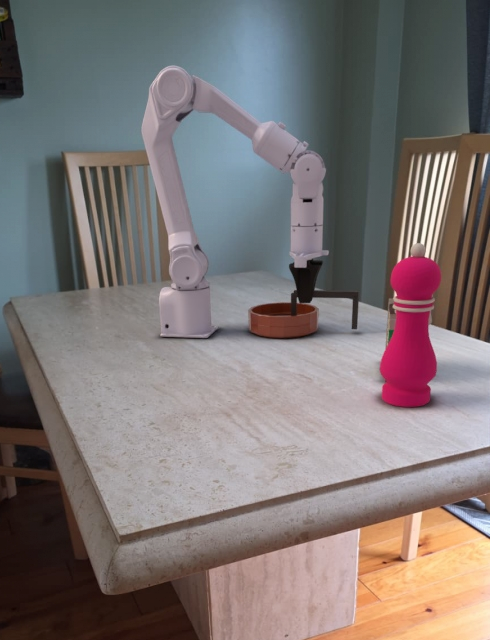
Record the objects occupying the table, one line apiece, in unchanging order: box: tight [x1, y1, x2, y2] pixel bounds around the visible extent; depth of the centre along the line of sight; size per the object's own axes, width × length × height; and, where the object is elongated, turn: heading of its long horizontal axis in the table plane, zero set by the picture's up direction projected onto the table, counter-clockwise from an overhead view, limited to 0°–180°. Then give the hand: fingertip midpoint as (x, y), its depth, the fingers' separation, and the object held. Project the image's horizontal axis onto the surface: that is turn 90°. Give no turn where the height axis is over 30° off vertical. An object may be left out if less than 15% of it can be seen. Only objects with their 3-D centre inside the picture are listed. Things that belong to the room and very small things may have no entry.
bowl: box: [247, 301, 319, 339], centre depth 119 cm, size 13×13×4 cm
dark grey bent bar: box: [277, 289, 360, 330], centre depth 117 cm, size 16×5×7 cm, turn 76°
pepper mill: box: [379, 242, 442, 408], centre depth 79 cm, size 7×7×20 cm
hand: (305, 301), depth 117 cm, fingers closed on dark grey bent bar
